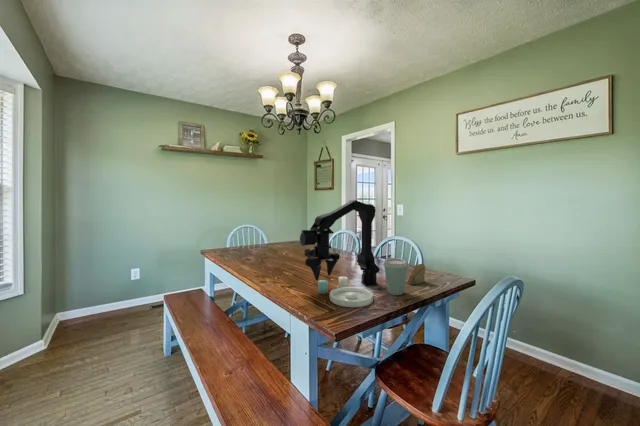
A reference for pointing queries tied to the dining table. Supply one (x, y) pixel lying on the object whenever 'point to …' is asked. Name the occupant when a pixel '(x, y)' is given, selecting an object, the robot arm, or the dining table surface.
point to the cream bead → (343, 282)
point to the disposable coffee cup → (395, 275)
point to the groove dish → (351, 297)
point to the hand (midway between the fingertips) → (323, 277)
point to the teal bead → (322, 286)
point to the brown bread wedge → (417, 275)
